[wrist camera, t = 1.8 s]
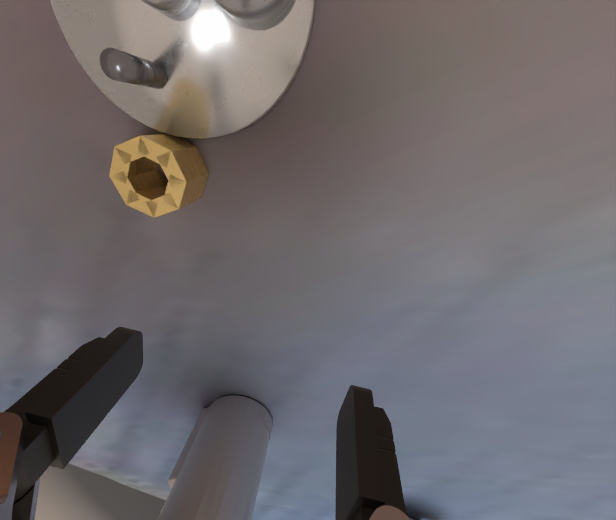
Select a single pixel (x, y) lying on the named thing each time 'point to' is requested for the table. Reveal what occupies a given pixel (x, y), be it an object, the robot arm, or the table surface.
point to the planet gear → (148, 181)
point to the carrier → (189, 57)
